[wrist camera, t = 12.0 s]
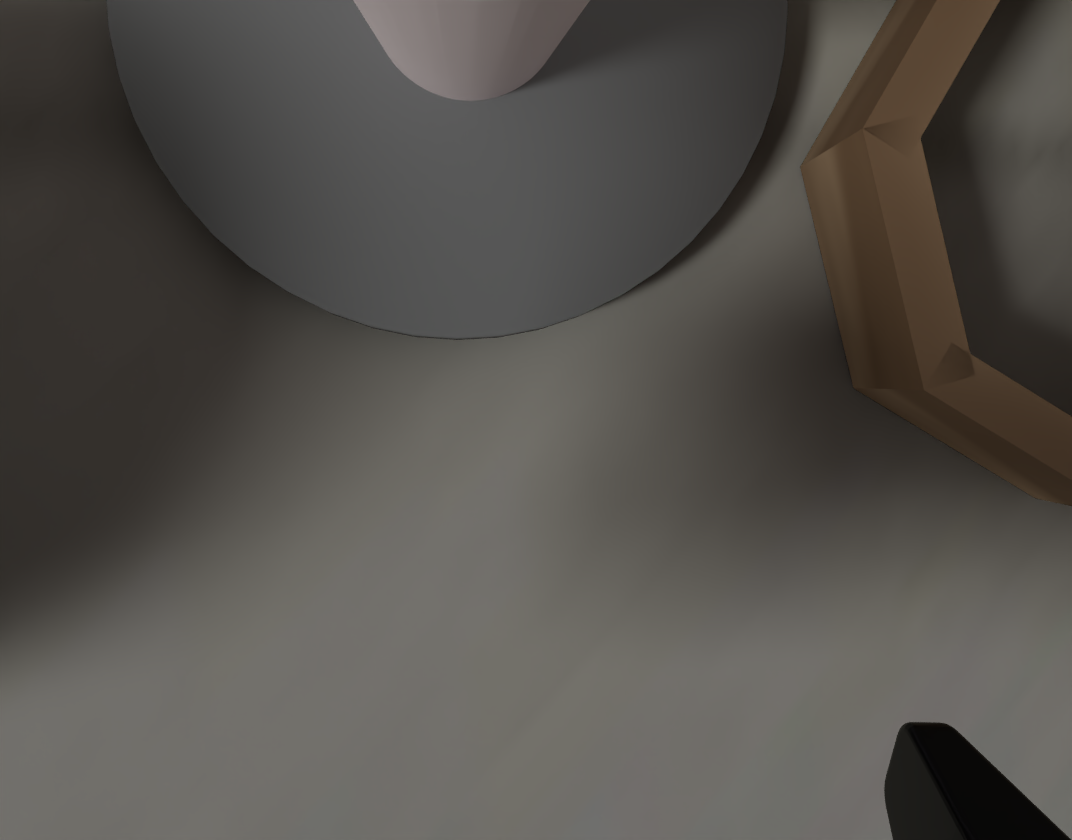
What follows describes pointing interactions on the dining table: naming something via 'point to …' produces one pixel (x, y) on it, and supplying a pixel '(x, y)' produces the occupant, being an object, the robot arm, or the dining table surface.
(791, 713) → the dining table surface
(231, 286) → the dining table surface
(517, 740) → the dining table surface
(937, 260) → the brown octagonal holder
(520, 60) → the smoothie
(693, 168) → the rubber mat
